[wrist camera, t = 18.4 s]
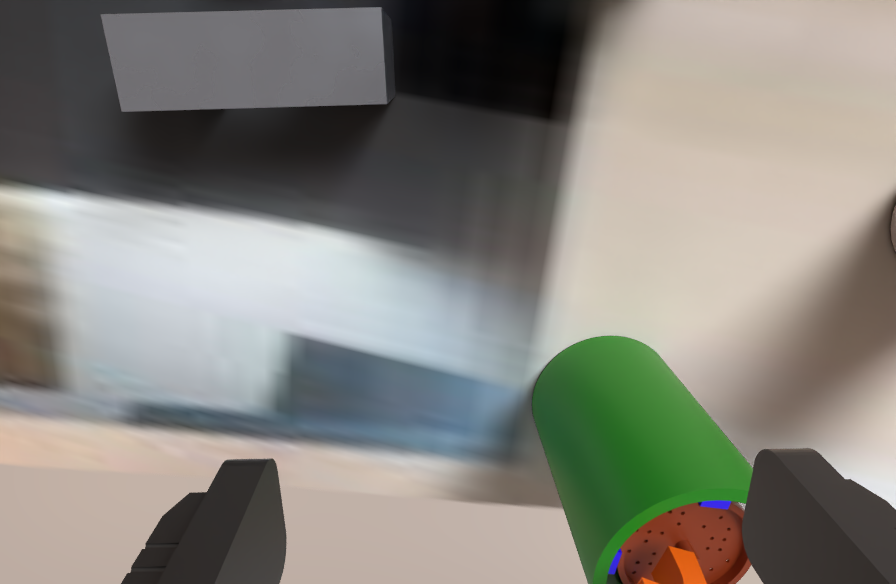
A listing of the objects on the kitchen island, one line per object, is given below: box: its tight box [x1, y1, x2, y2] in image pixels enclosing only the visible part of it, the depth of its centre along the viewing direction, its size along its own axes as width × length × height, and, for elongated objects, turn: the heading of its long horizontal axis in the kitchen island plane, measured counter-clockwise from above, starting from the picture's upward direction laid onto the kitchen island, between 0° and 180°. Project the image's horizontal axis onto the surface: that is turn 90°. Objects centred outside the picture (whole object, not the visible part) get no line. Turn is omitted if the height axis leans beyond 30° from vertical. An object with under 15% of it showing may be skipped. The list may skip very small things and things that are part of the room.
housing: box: [101, 7, 396, 112], centre depth 30 cm, size 4×12×8 cm, turn 91°
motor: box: [532, 336, 753, 584], centre depth 33 cm, size 10×9×20 cm
